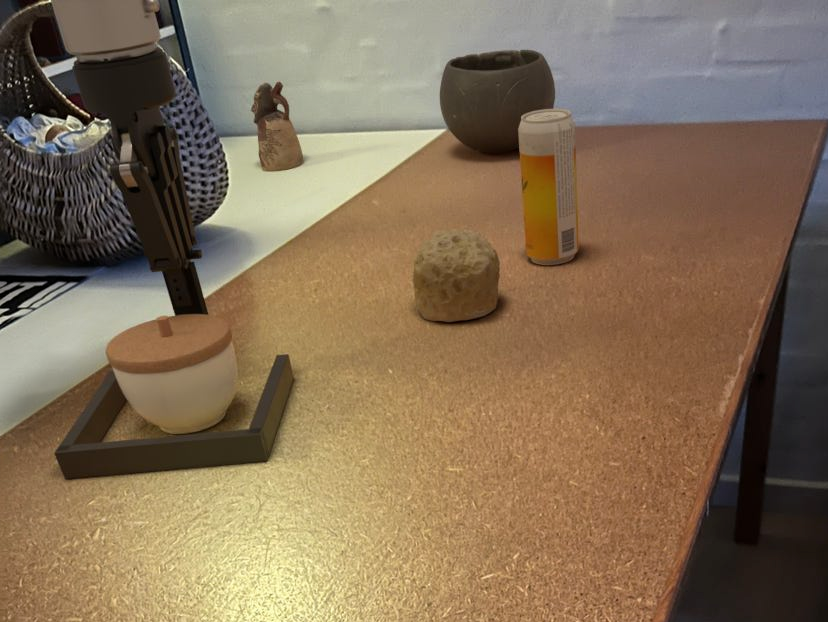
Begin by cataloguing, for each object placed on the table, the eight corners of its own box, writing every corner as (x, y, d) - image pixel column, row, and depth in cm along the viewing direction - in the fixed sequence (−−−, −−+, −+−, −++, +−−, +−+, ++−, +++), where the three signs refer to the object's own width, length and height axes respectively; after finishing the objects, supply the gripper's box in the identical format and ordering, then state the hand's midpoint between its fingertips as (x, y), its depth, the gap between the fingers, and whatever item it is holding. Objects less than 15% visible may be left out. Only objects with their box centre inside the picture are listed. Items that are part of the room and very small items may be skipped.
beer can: (550, 245, 117) (544, 105, 107) (589, 254, 113) (586, 110, 104) (515, 261, 114) (505, 118, 104) (554, 270, 110) (547, 123, 101)
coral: (434, 291, 109) (426, 220, 104) (513, 293, 106) (508, 220, 101) (402, 323, 102) (391, 249, 97) (485, 327, 99) (478, 251, 94)
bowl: (526, 128, 164) (521, 41, 156) (577, 148, 151) (575, 54, 143) (428, 149, 159) (418, 60, 151) (472, 171, 146) (463, 75, 138)
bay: (118, 394, 95) (109, 370, 93) (294, 378, 94) (288, 353, 93) (64, 479, 83) (53, 453, 81) (267, 461, 82) (260, 434, 80)
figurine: (272, 159, 164) (255, 78, 157) (310, 158, 162) (295, 76, 155) (253, 171, 159) (234, 88, 151) (293, 170, 157) (276, 86, 149)
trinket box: (259, 388, 93) (234, 289, 87) (240, 440, 85) (211, 335, 79) (149, 399, 94) (117, 302, 88) (119, 452, 85) (81, 348, 79)
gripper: (140, 61, 74) (221, 358, 89) (181, 34, 84) (248, 305, 99) (44, 71, 74) (141, 366, 89) (96, 43, 84) (175, 311, 99)
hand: (197, 333), depth 94 cm, fingers closed
